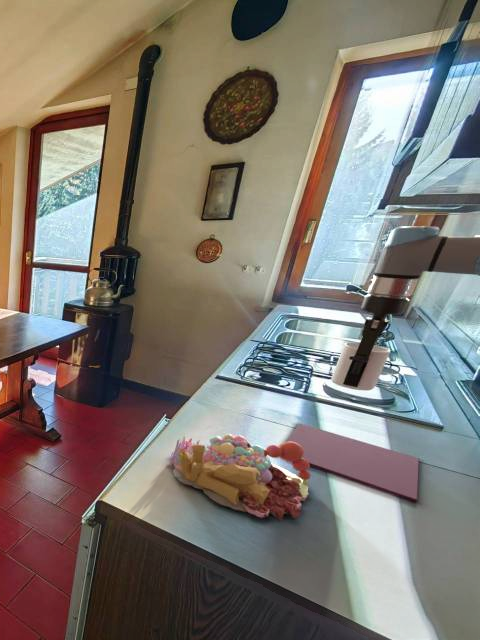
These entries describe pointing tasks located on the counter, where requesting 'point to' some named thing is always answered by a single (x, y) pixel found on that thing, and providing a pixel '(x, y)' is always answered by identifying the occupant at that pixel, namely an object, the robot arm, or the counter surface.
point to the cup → (371, 370)
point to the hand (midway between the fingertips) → (353, 379)
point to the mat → (359, 461)
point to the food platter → (244, 474)
